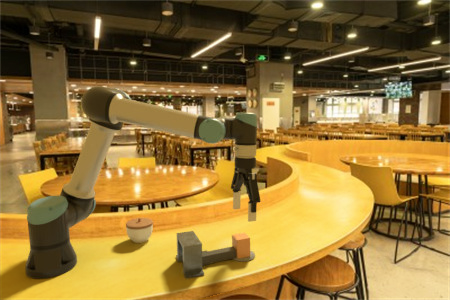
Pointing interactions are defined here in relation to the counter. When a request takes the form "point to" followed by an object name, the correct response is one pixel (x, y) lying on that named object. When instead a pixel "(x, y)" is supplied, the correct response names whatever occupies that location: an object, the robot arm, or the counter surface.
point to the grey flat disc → (246, 257)
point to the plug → (229, 250)
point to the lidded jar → (139, 229)
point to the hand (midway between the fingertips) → (243, 214)
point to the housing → (190, 254)
